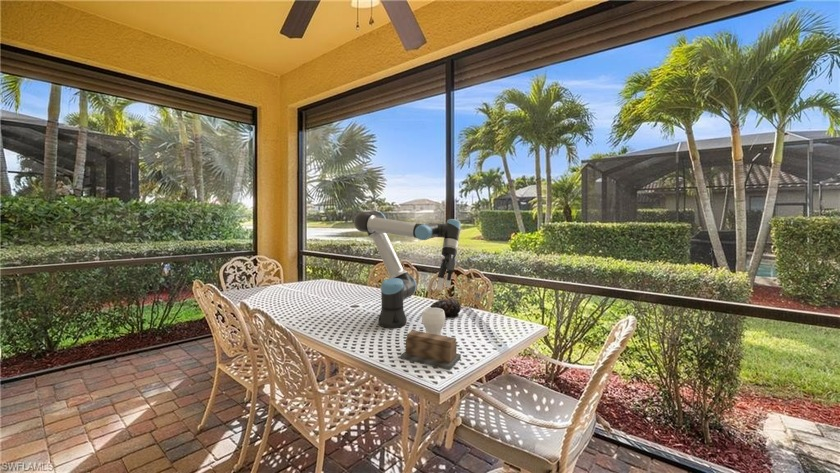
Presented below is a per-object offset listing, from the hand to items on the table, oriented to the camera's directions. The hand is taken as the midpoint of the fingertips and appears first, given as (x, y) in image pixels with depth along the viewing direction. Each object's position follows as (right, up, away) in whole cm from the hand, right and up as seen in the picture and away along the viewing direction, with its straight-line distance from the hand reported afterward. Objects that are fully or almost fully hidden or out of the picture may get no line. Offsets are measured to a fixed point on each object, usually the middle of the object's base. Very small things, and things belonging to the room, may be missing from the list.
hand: (443, 288), depth 174 cm
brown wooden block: (-7, -25, -28) cm, 38 cm away
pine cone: (+3, -20, +28) cm, 34 cm away
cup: (-5, -23, -12) cm, 26 cm away
